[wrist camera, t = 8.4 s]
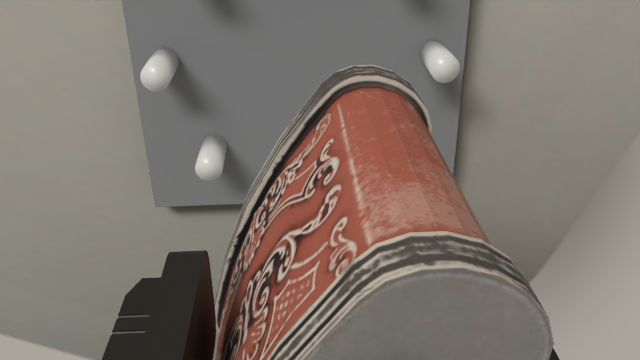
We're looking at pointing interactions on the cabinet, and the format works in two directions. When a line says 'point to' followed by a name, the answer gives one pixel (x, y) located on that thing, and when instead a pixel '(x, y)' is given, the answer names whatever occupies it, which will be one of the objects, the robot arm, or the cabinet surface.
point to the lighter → (368, 244)
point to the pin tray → (273, 78)
